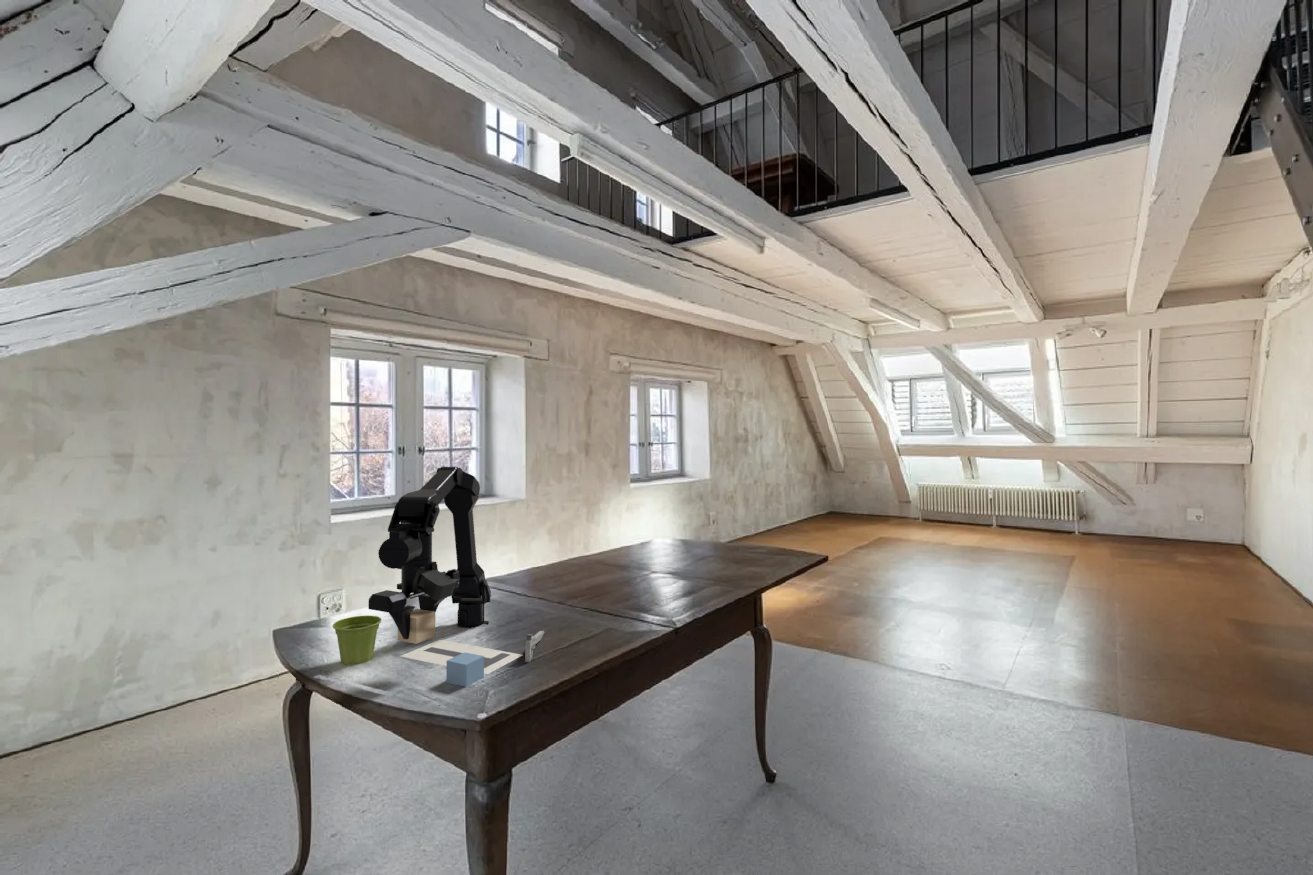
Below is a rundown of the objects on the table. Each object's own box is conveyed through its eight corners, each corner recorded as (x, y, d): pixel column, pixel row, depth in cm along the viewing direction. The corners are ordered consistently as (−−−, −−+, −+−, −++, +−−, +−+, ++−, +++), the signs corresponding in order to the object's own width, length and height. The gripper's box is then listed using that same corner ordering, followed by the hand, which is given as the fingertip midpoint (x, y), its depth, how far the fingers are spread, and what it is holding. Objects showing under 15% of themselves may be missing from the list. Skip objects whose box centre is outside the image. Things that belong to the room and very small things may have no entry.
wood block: (416, 632, 123) (417, 608, 123) (435, 636, 121) (435, 611, 121) (397, 640, 119) (397, 615, 119) (416, 643, 117) (416, 618, 117)
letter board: (440, 642, 141) (440, 639, 141) (523, 657, 131) (523, 654, 131) (399, 658, 130) (399, 656, 130) (486, 677, 120) (486, 674, 120)
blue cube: (464, 676, 120) (464, 652, 120) (483, 681, 118) (484, 656, 118) (446, 686, 116) (446, 660, 116) (466, 690, 114) (466, 664, 114)
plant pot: (387, 662, 128) (388, 621, 128) (340, 674, 121) (340, 631, 121) (372, 651, 135) (372, 612, 135) (326, 661, 128) (326, 621, 128)
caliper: (530, 666, 127) (530, 636, 127) (525, 666, 127) (525, 636, 127) (544, 634, 147) (544, 609, 147) (540, 635, 147) (540, 609, 147)
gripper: (410, 570, 108) (409, 656, 108) (479, 553, 125) (479, 626, 125) (366, 565, 113) (366, 647, 113) (439, 548, 130) (439, 620, 130)
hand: (416, 634), depth 120 cm, fingers closed on wood block, 5 cm apart
